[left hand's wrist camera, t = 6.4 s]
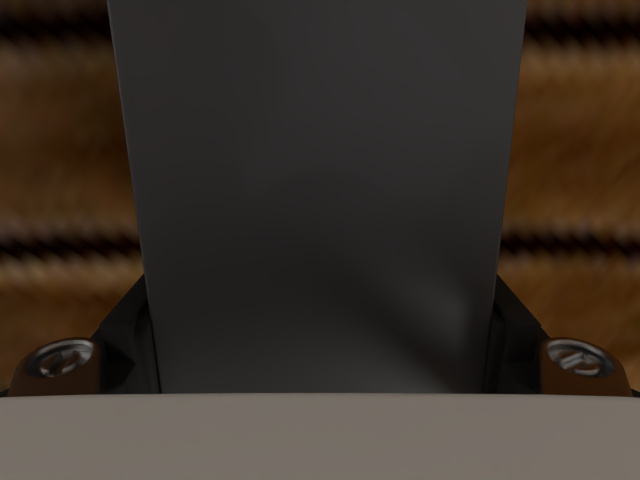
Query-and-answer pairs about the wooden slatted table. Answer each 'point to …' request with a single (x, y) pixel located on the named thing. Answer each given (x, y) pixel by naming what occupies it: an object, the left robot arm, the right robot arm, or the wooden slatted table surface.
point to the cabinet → (319, 187)
